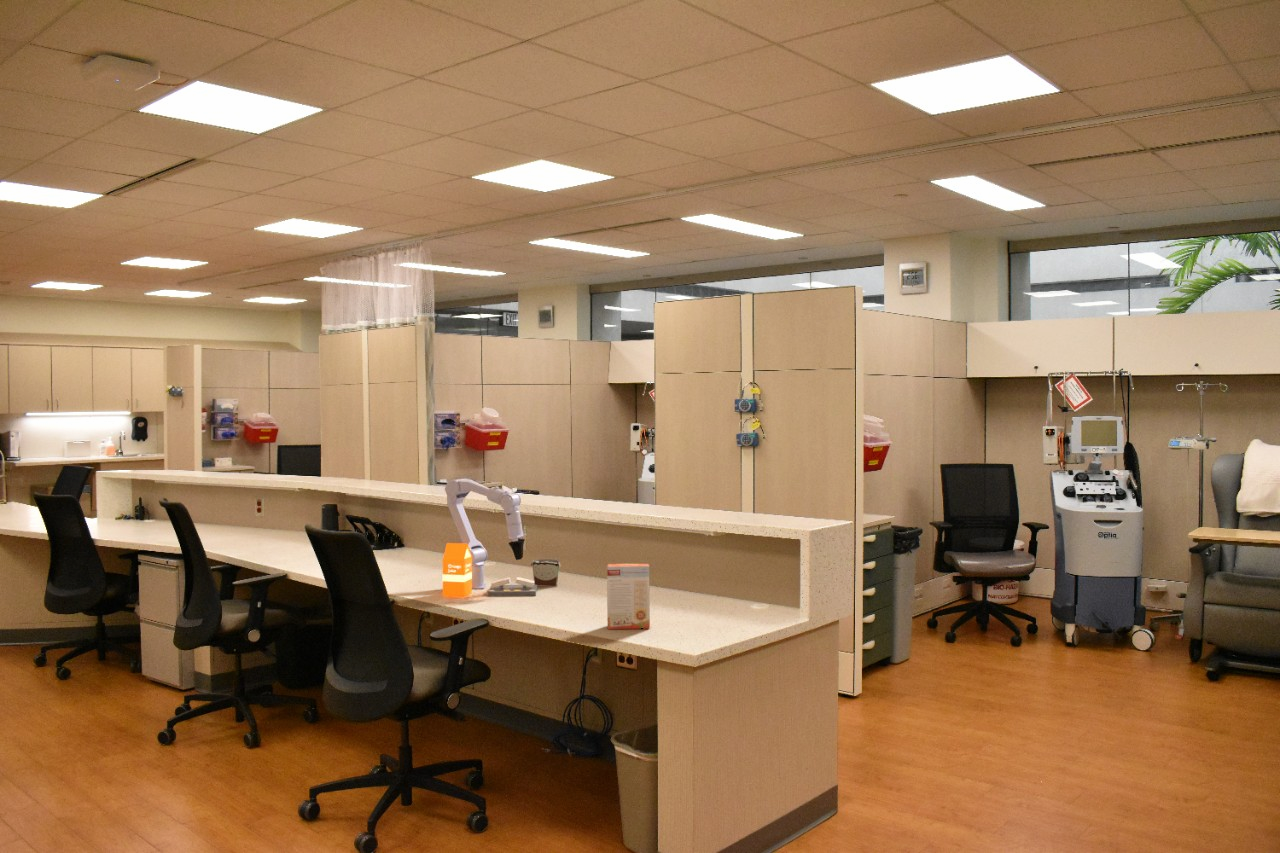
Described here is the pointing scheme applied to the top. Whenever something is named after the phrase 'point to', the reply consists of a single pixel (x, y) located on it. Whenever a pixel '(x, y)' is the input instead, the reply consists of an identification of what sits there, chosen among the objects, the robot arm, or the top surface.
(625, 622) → the cracker box
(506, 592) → the switch board
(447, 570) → the orange juice
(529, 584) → the plate
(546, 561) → the food container
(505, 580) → the rocker
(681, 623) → the top surface
